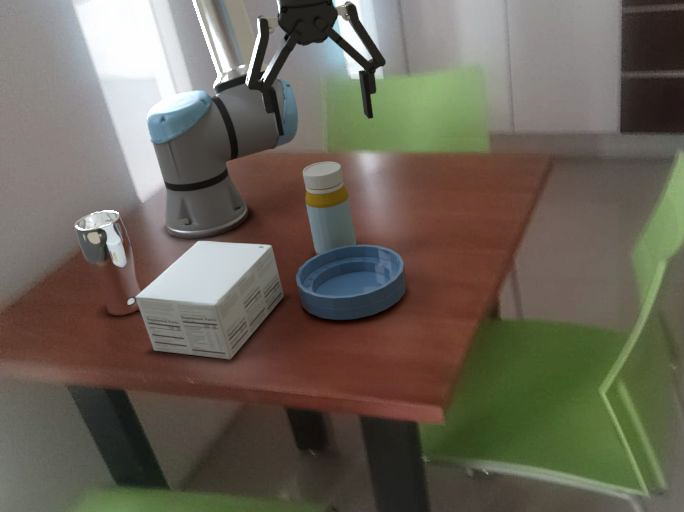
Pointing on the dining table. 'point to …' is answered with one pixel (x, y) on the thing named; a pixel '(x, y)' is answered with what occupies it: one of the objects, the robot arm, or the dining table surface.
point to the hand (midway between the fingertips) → (325, 124)
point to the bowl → (351, 282)
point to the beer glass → (110, 259)
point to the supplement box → (211, 299)
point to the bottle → (328, 207)
